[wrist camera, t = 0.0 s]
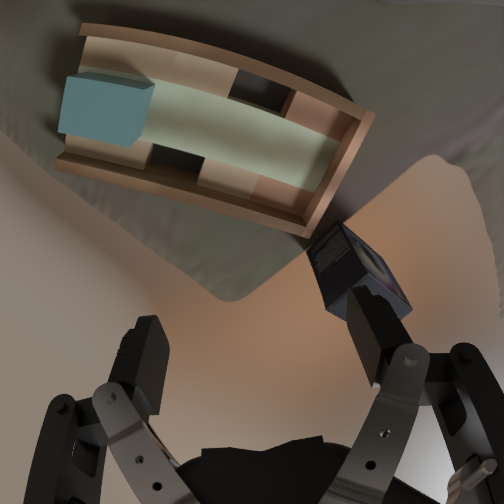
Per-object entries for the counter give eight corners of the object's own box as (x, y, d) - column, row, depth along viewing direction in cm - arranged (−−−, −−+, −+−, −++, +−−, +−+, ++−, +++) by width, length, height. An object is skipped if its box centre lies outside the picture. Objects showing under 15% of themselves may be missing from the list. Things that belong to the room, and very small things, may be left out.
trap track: (103, 25, 21) (82, 22, 17) (355, 104, 28) (375, 114, 24) (74, 152, 28) (54, 169, 24) (299, 214, 36) (309, 238, 32)
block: (87, 71, 21) (67, 76, 18) (155, 84, 23) (144, 89, 20) (76, 120, 24) (57, 132, 21) (141, 134, 26) (129, 148, 22)
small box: (385, 256, 41) (416, 310, 32) (352, 285, 44) (376, 341, 35) (339, 217, 36) (371, 273, 28) (303, 251, 39) (323, 313, 31)
